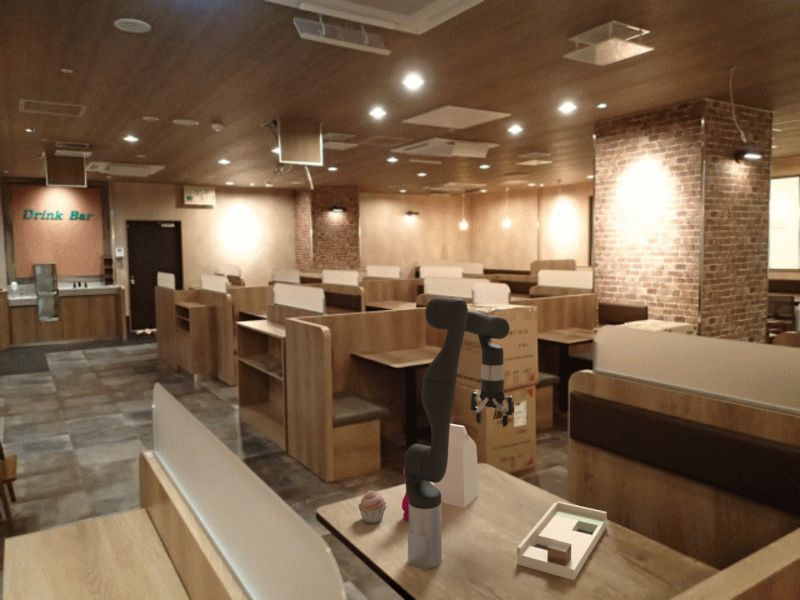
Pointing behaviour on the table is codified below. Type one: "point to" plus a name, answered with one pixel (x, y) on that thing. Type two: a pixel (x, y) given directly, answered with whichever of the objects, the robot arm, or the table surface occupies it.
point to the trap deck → (562, 538)
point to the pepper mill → (405, 504)
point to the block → (559, 552)
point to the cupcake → (372, 507)
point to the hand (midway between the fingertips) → (492, 424)
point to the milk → (460, 469)
